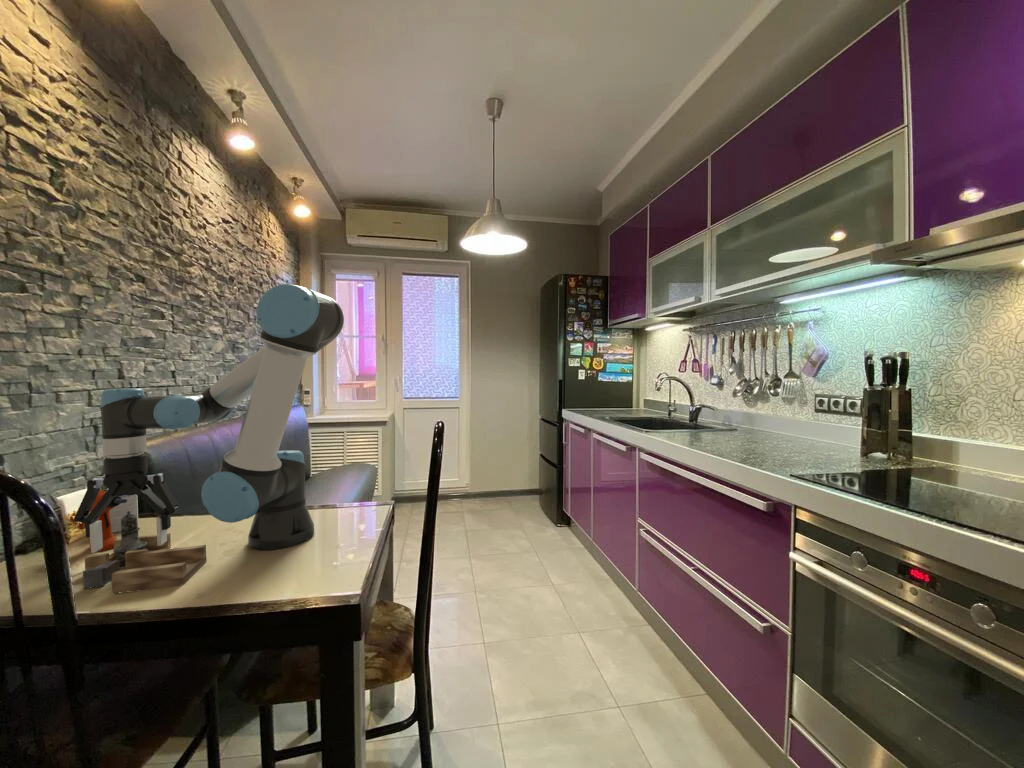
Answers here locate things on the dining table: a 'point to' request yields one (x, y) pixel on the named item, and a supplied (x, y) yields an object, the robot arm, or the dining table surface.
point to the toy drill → (107, 520)
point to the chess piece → (128, 537)
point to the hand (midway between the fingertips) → (130, 546)
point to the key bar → (100, 574)
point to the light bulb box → (123, 511)
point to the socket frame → (128, 553)
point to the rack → (161, 569)
